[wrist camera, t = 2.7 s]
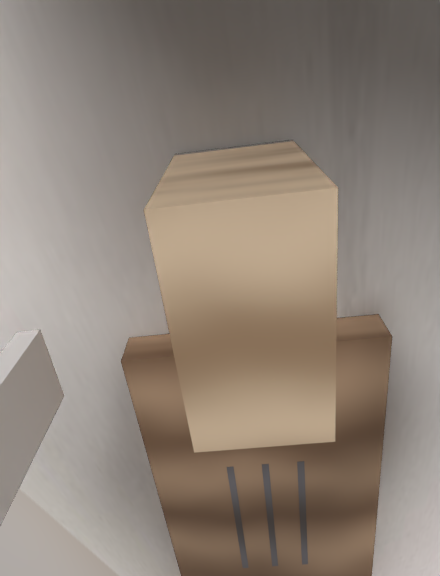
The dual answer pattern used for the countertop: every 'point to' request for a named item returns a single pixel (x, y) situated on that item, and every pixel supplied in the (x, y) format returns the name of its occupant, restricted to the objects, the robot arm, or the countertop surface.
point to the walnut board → (269, 471)
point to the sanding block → (250, 293)
